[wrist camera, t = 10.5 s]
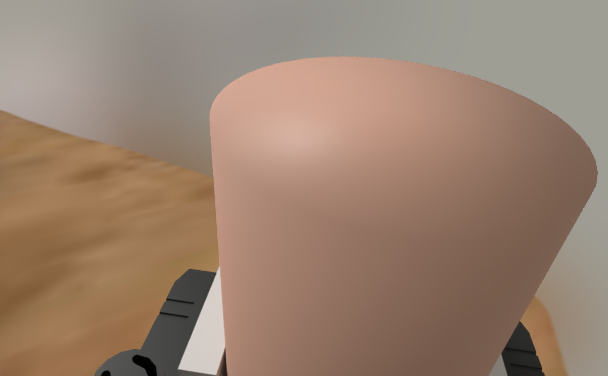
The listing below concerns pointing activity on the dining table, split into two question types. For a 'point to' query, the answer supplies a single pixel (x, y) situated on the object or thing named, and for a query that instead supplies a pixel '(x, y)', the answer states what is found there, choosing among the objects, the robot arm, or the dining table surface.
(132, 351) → the robot arm
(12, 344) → the dining table surface
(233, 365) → the terracotta peg
